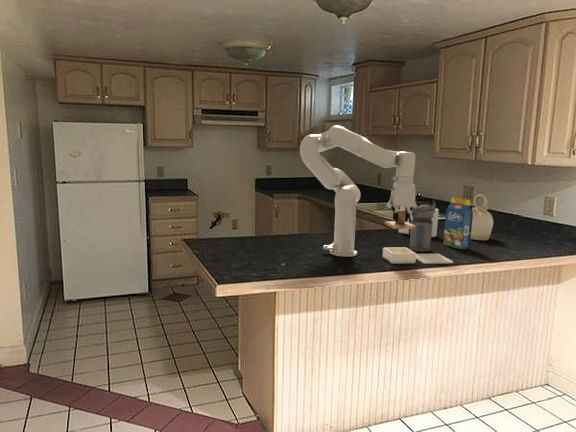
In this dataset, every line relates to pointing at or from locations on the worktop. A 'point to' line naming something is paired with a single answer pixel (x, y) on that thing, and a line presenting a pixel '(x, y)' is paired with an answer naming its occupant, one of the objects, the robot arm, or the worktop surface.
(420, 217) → the beverage bottle
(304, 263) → the worktop surface
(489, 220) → the jug
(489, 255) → the worktop surface
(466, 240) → the blue food package
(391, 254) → the dish
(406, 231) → the skincare box
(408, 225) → the lid
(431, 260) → the box
